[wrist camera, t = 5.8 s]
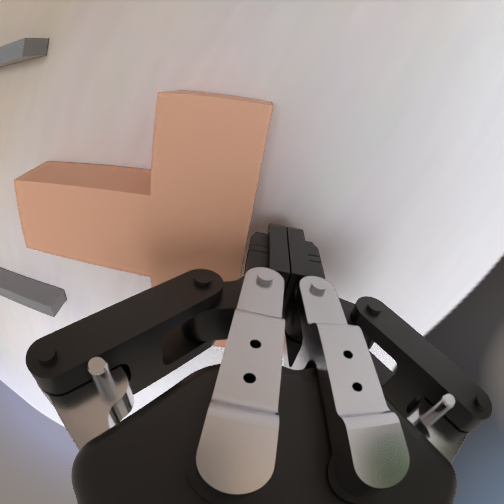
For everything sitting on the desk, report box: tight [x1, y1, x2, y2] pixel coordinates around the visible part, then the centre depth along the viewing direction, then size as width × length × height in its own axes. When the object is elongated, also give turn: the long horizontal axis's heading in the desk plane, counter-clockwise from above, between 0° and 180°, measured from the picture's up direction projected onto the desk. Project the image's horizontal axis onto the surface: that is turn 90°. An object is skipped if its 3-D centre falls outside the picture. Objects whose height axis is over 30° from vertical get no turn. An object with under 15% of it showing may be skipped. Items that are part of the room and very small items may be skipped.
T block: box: [14, 90, 273, 347], centre depth 13 cm, size 12×12×3 cm
